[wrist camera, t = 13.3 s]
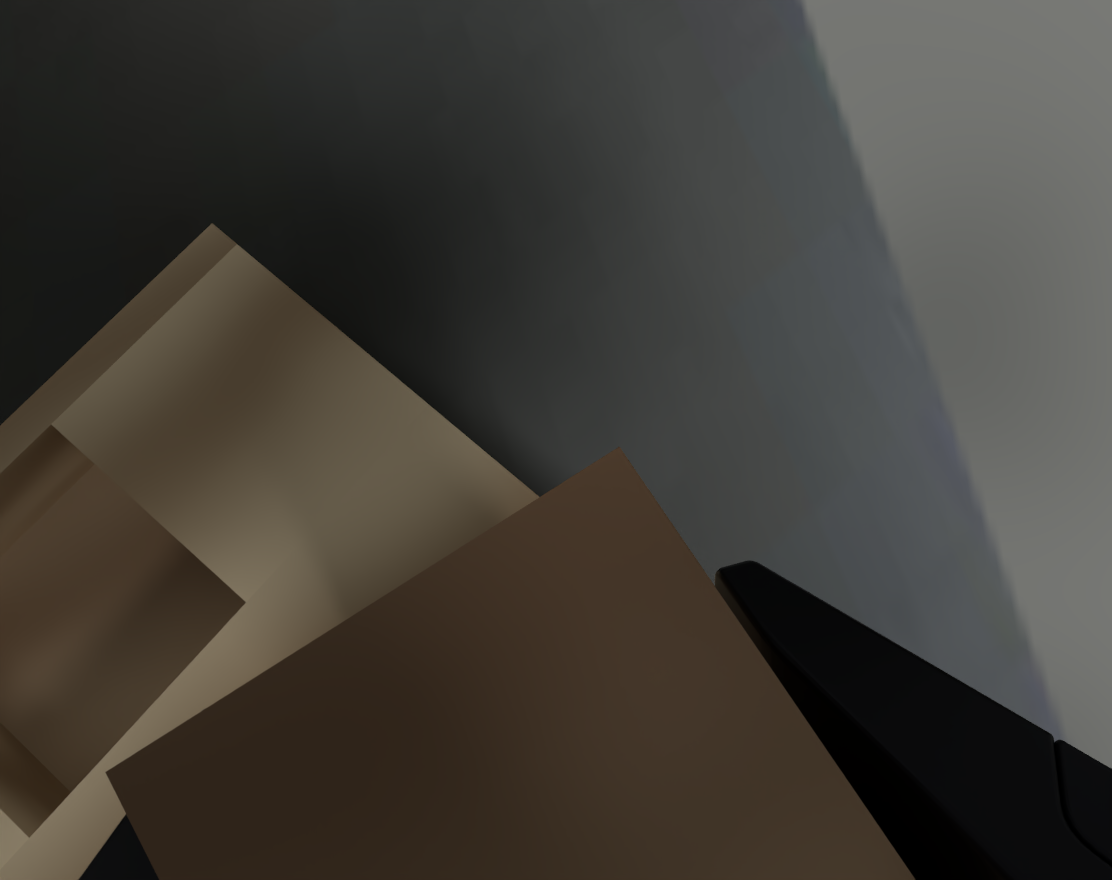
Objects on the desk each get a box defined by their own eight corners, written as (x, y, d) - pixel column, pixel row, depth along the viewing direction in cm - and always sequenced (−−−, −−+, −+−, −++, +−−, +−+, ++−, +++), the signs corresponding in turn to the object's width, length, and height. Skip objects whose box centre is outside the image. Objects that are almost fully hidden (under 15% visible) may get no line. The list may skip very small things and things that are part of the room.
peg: (690, 775, 15) (974, 967, 6) (495, 916, 15) (426, 1413, 5) (564, 580, 16) (620, 446, 6) (372, 704, 15) (104, 771, 6)
